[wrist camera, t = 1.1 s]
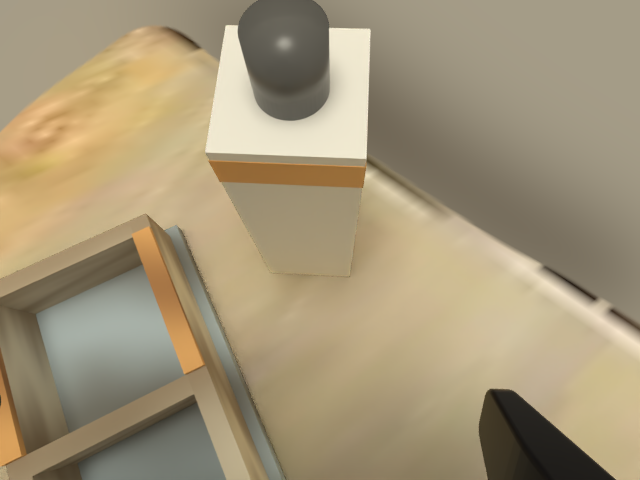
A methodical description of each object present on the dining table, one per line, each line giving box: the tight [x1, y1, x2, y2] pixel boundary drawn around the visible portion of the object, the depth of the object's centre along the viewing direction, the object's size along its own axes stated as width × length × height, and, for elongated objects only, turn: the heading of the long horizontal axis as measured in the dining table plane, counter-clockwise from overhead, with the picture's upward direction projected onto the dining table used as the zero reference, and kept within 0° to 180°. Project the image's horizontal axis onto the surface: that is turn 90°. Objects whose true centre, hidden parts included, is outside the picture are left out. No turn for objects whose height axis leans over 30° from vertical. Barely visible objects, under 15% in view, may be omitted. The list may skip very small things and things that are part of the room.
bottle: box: [205, 0, 370, 277], centre depth 16 cm, size 4×4×14 cm
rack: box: [0, 214, 286, 480], centre depth 18 cm, size 16×9×4 cm, turn 26°
